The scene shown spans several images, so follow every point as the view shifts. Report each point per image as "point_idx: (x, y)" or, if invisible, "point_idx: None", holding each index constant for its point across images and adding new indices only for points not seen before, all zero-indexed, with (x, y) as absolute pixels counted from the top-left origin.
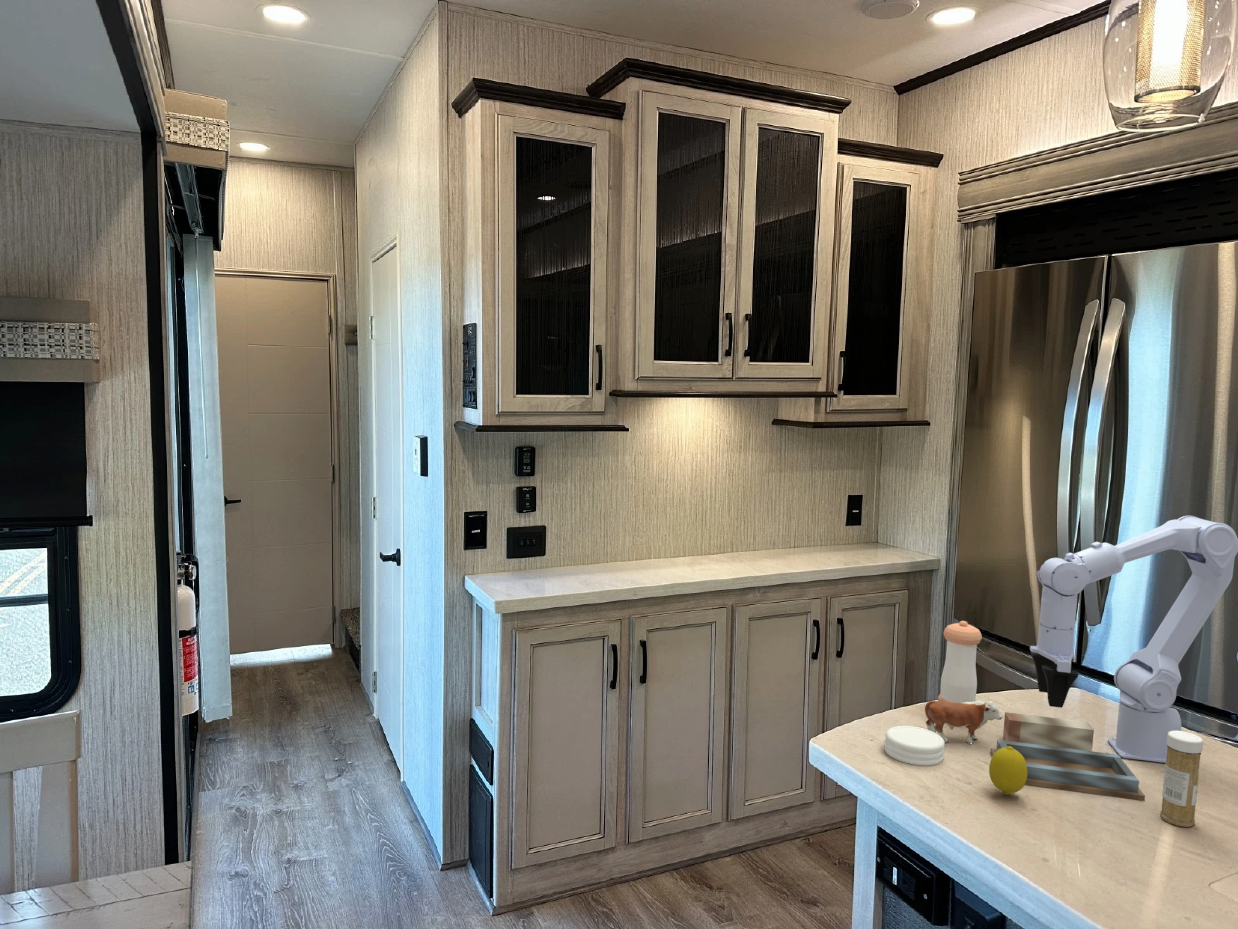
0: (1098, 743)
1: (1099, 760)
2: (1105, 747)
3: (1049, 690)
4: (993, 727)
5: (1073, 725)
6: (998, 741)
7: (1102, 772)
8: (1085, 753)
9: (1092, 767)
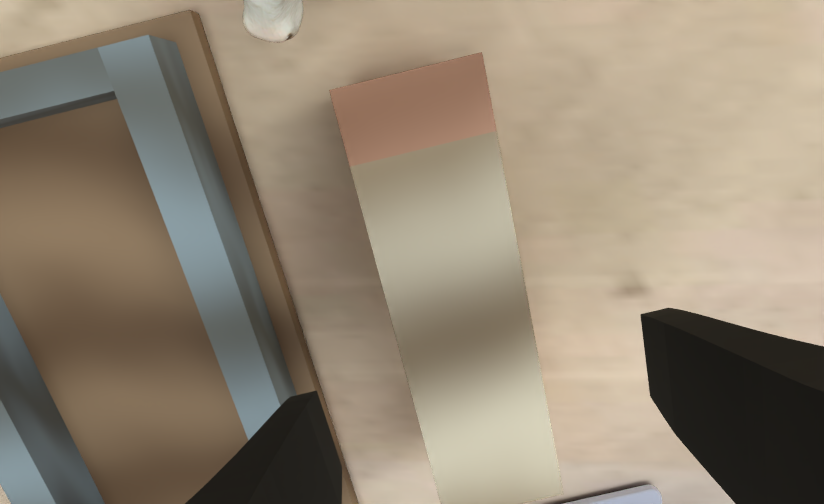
0: (612, 451)
1: None
2: (578, 473)
3: (204, 489)
4: (599, 5)
5: (460, 436)
6: (119, 43)
7: None
8: None
9: None
